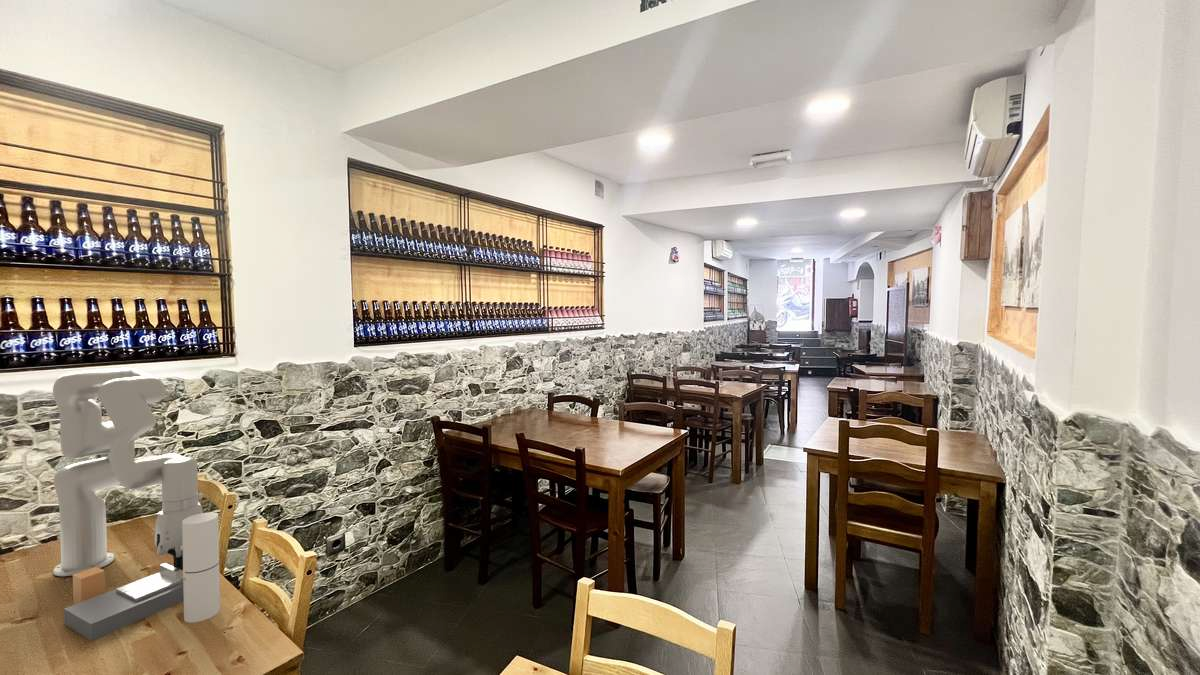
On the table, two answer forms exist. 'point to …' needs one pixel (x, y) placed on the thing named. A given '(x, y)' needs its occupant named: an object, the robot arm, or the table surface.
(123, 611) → the socket block
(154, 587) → the panel
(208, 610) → the cylindrical container
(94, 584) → the plug peg
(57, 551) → the table surface
